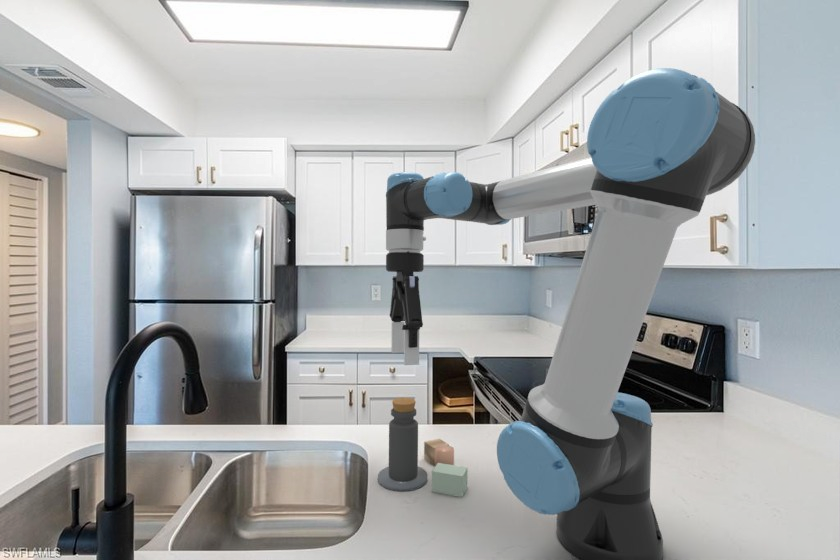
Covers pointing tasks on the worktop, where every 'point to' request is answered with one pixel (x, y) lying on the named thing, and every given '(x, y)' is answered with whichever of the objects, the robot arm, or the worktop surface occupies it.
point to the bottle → (403, 441)
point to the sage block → (449, 479)
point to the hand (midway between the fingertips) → (404, 358)
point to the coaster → (402, 486)
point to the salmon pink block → (444, 454)
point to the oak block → (432, 449)
